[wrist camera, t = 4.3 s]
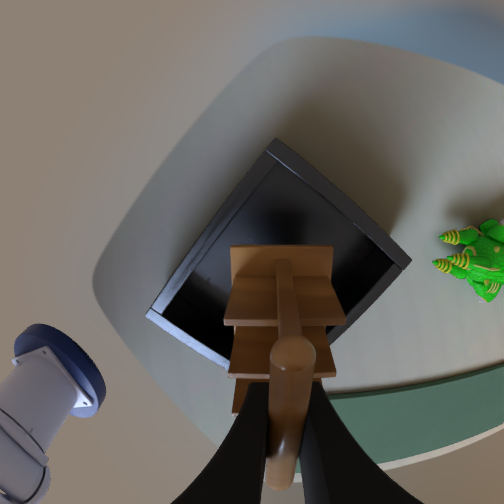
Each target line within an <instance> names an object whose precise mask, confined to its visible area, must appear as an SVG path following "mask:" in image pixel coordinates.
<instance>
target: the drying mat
mask: <svg viewBox="0 0 504 504" xmlns="http://www.w3.org/2000/svg"><path fill="white" fill-rule="evenodd" d="M327 396H328V398H329V400H330V402H331V404H332V405H333V407H334V409H335V411H336V412H337V414H338V415H339V417H340V418H341V420H342V421H343V423H344V424H345V426H346V427H347V429H348V430H349V432H350V433H351V434H352V436H353V437H354V439H355V440H356V441H357V442H358V444H359V445H360V446H361V447H362V449H363V450H364V451H365V452H366V453H367V455H368V456H369V457H370V458H371V459H372V460H373V461H374V462H375V463H376V464H379V463H384V462H389V461H394V460H398V459H403V458H407V457H411V456H415V455H418V454H422V453H426V452H429V451H432V450H436V449H439V448H442V447H445V446H448V445H451V444H454V443H457V442H460V441H462V440H465V439H468V438H470V437H473V436H475V435H478V434H480V433H483V432H485V431H488V430H490V429H492V428H494V427H497V426H499V425H501V424H502V423H503V422H504V363H502V364H499V365H496V366H492V367H489V368H486V369H482V370H479V371H475V372H471V373H467V374H463V375H459V376H455V377H451V378H447V379H442V380H437V381H433V382H428V383H422V384H417V385H411V386H405V387H399V388H392V389H385V390H378V391H369V392H360V393H350V394H338V395H327ZM295 473H301V468H300V461H299V457H298V461H297V466H296V470H295Z"/></svg>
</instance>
